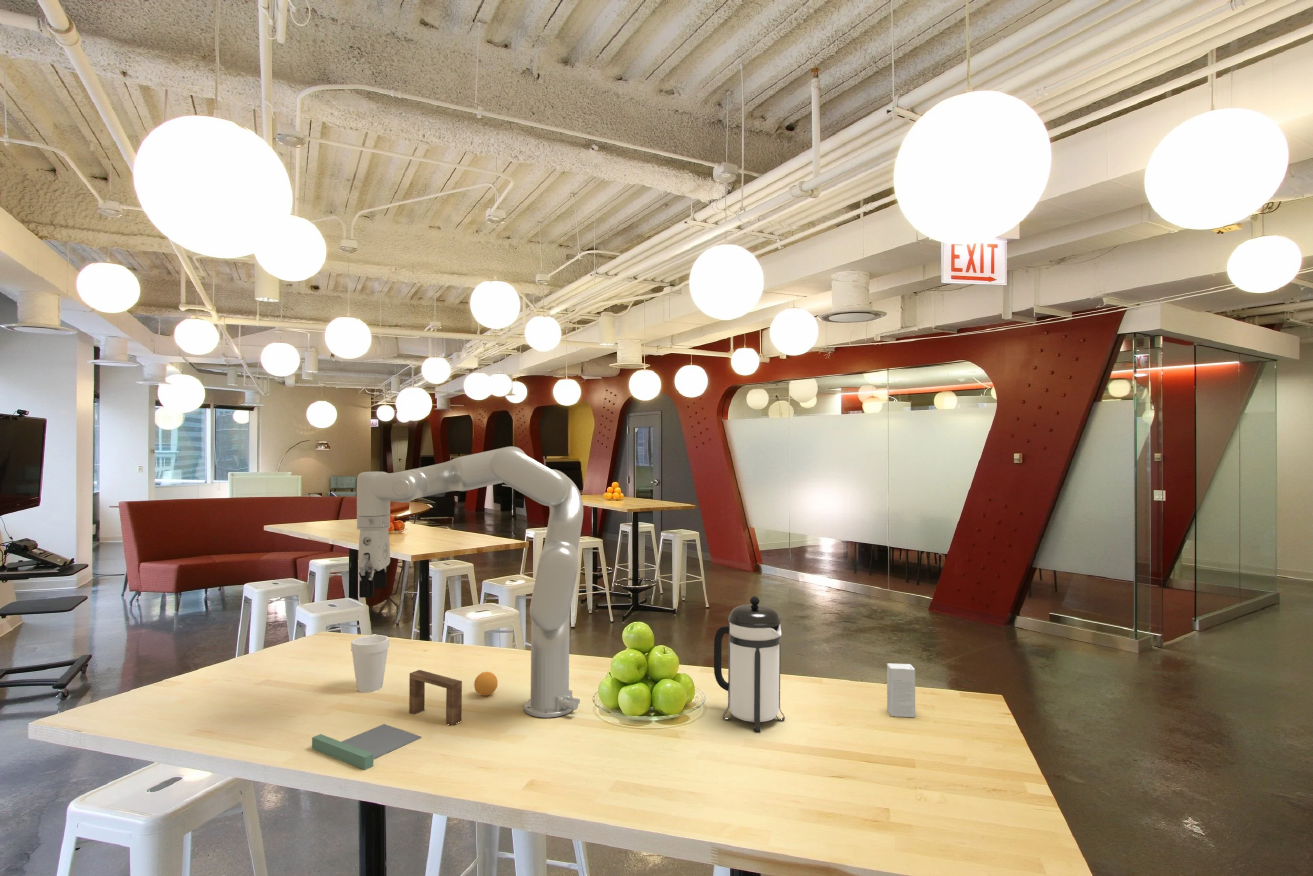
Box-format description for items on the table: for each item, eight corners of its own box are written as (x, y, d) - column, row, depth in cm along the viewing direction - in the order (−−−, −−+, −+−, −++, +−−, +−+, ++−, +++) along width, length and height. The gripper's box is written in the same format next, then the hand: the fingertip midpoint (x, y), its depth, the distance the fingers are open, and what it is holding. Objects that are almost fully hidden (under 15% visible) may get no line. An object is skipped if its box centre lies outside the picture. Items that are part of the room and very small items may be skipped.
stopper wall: (373, 766, 143) (373, 754, 143) (364, 770, 141) (364, 757, 141) (320, 745, 152) (320, 734, 152) (311, 748, 150) (312, 737, 150)
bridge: (419, 708, 173) (419, 669, 173) (461, 721, 166) (462, 681, 166) (409, 712, 171) (409, 673, 171) (451, 726, 163) (452, 684, 163)
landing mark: (421, 737, 157) (421, 736, 157) (371, 760, 145) (371, 759, 145) (384, 724, 163) (384, 724, 163) (333, 745, 152) (333, 744, 152)
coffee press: (781, 707, 176) (782, 589, 176) (787, 734, 160) (788, 604, 160) (713, 704, 178) (714, 587, 178) (712, 730, 162) (713, 602, 162)
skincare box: (910, 711, 174) (911, 663, 174) (915, 718, 170) (915, 669, 170) (886, 710, 175) (886, 662, 175) (890, 716, 171) (890, 668, 171)
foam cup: (362, 697, 180) (363, 647, 180) (344, 689, 186) (344, 640, 186) (395, 687, 188) (395, 639, 188) (376, 679, 194) (377, 633, 194)
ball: (502, 693, 184) (502, 671, 184) (485, 701, 179) (486, 677, 179) (485, 689, 187) (486, 667, 187) (469, 696, 182) (469, 673, 182)
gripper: (378, 526, 160) (378, 600, 160) (399, 518, 177) (399, 584, 177) (344, 527, 160) (344, 601, 160) (369, 518, 177) (368, 585, 177)
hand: (373, 592), depth 169 cm, fingers open, 9 cm apart
